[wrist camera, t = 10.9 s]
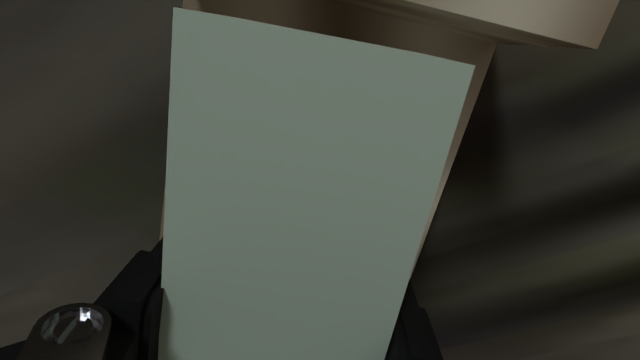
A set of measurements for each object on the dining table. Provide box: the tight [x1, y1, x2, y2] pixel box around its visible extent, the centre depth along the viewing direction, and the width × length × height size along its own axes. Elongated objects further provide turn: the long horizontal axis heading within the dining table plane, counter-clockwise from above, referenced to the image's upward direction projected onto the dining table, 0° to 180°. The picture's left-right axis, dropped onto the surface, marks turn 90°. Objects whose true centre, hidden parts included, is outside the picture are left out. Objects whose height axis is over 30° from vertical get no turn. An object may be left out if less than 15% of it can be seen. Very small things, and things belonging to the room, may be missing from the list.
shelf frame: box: [160, 0, 619, 279], centre depth 15 cm, size 12×19×8 cm, turn 167°
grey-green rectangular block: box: [158, 7, 475, 360], centre depth 11 cm, size 14×5×4 cm, turn 170°
